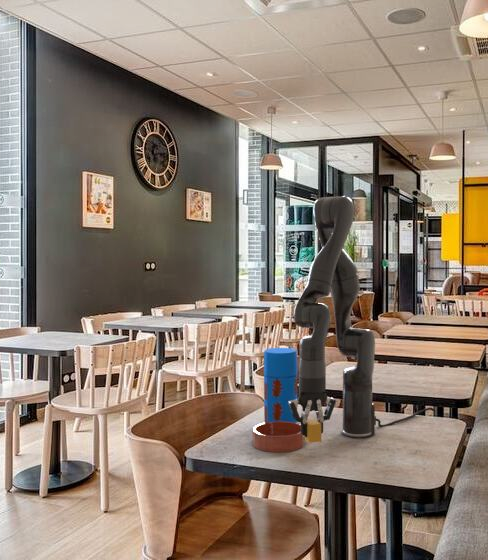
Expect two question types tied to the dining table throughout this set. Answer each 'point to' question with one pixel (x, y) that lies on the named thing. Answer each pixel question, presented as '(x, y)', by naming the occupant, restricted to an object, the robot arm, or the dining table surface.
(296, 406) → the robot arm
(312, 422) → the sponge
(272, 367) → the thermos
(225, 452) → the dining table surface
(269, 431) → the bowl
